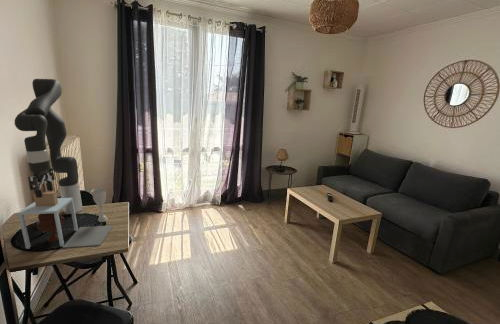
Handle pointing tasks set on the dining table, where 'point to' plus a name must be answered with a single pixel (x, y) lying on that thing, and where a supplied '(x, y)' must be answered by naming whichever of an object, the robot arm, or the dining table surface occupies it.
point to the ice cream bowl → (49, 225)
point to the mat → (88, 236)
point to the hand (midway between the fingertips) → (45, 193)
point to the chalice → (100, 201)
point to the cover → (46, 206)
